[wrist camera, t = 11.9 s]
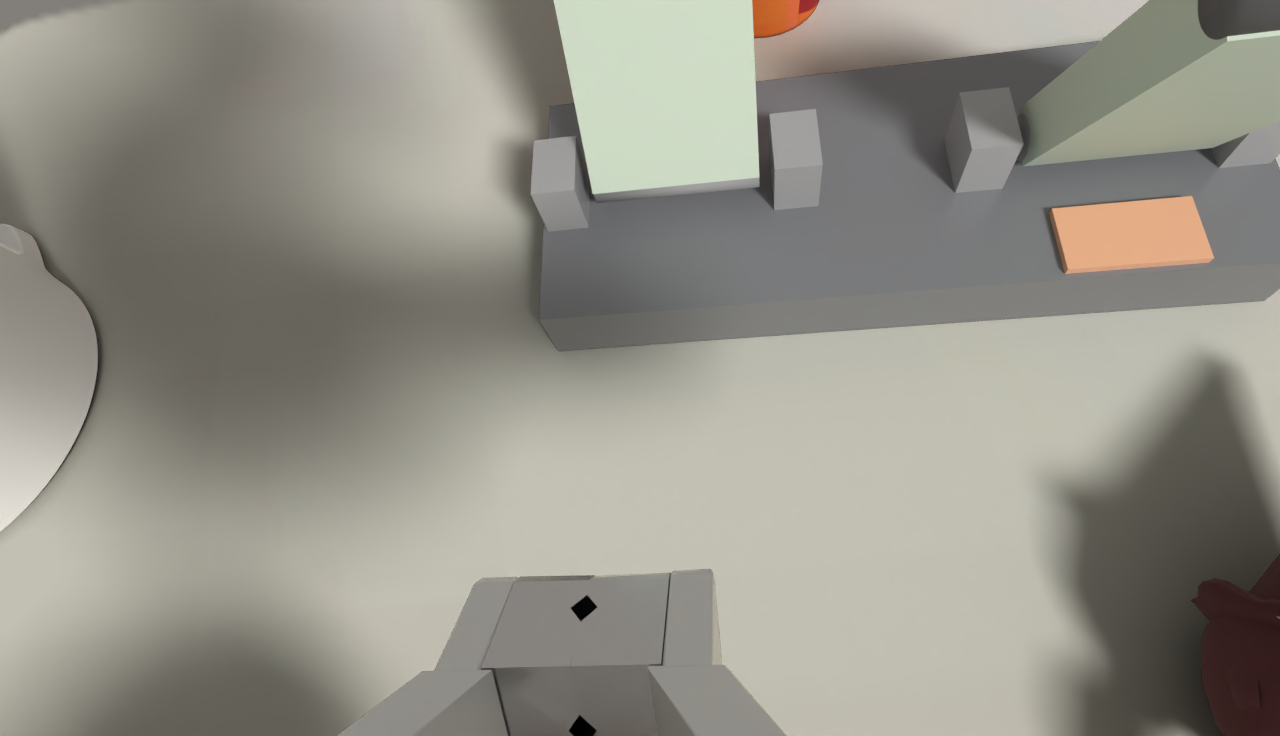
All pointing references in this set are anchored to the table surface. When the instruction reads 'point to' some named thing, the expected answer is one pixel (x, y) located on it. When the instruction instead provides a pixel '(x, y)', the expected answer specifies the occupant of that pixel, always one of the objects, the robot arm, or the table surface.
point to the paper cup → (780, 15)
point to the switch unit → (903, 218)
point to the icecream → (1242, 654)
